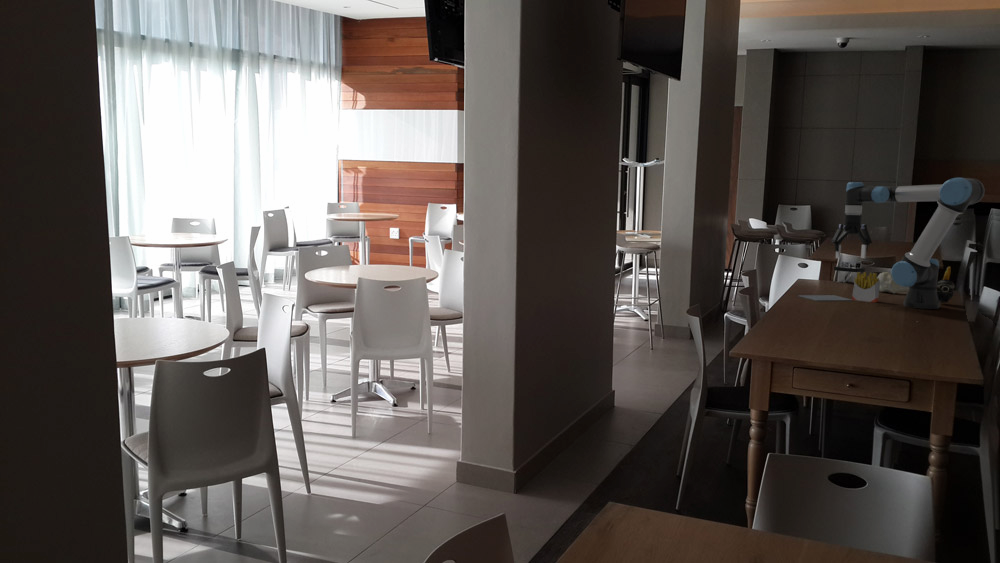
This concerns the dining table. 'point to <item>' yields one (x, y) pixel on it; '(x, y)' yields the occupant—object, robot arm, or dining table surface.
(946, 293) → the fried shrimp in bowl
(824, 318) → the dining table surface
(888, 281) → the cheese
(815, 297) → the mat
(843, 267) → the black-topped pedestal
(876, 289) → the french fries container
